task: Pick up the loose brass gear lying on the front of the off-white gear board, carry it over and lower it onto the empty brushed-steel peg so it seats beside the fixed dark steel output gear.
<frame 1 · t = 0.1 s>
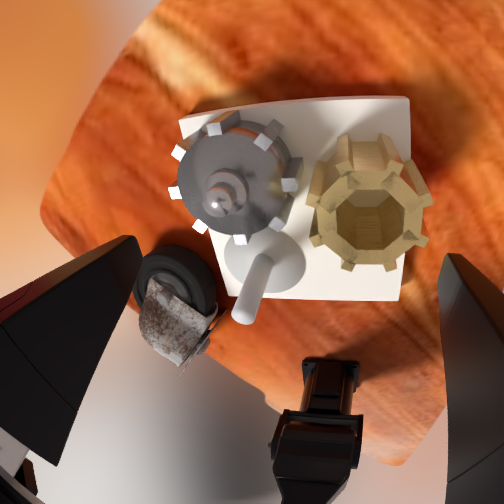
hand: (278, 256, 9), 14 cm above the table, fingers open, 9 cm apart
output gear: (250, 159, 22), resting on gear board
gear board: (305, 206, 23), on the table
caster wheel: (185, 286, 33), on the table
brass gear: (366, 182, 20), point 1 cm above the table, touching gear board
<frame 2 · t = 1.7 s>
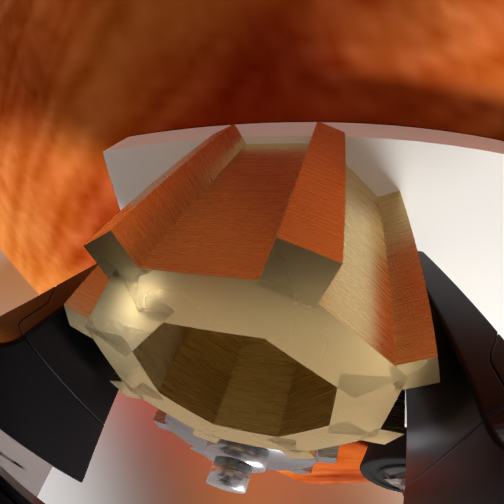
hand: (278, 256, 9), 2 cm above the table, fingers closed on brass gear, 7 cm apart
output gear: (267, 356, 15), resting on gear board
gear board: (357, 315, 12), on the table
caster wheel: (436, 437, 18), on the table
brass gear: (284, 238, 9), point 1 cm above the table, touching gear board, gripper
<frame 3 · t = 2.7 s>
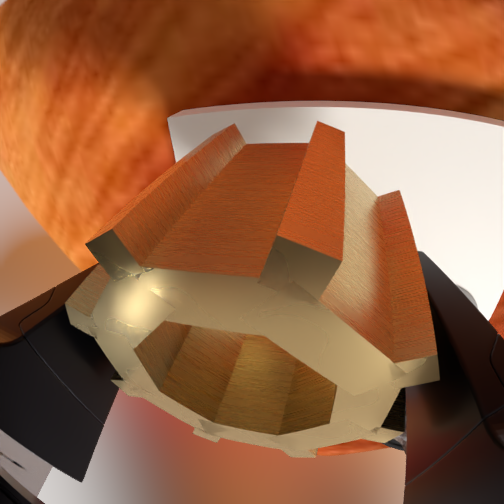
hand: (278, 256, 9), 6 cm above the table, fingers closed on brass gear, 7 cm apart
gear board: (360, 255, 15), on the table
caster wheel: (432, 395, 22), on the table
brass gear: (284, 237, 9), point 6 cm above the table, touching gripper
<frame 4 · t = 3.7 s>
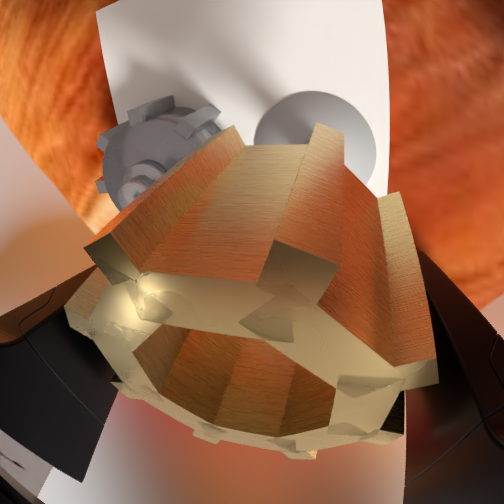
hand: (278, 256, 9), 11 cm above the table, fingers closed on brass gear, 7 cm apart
output gear: (190, 150, 20), resting on gear board
gear board: (242, 90, 17), on the table
brass gear: (284, 239, 9), point 11 cm above the table, touching gripper
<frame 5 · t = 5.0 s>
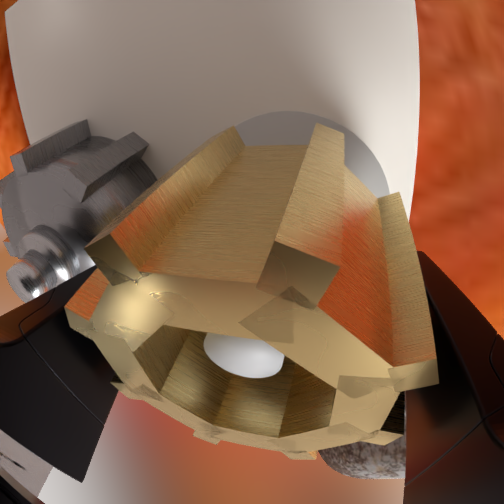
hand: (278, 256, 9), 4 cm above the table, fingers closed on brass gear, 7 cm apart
output gear: (124, 191, 14), resting on gear board
gear board: (184, 106, 11), on the table
caster wheel: (360, 367, 18), on the table
brass gear: (284, 239, 9), point 3 cm above the table, touching gripper
when the fingers open (4 cm above the table, at t = 5.7 s): brass gear drops 2 cm, resting on gear board.
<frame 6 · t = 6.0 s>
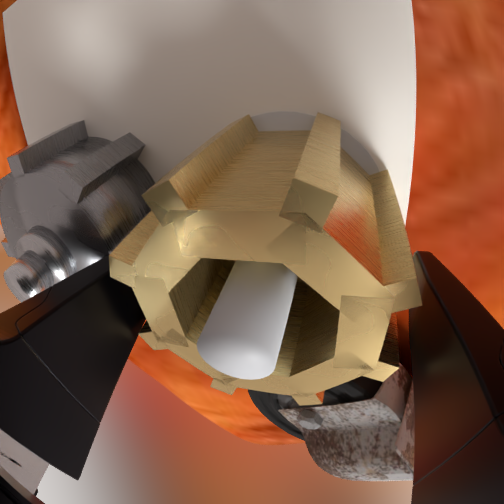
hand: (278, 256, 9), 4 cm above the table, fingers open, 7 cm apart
output gear: (121, 192, 14), resting on gear board
gear board: (180, 107, 11), on the table
caster wheel: (352, 370, 18), on the table
brass gear: (290, 212, 11), point 2 cm above the table, touching gear board
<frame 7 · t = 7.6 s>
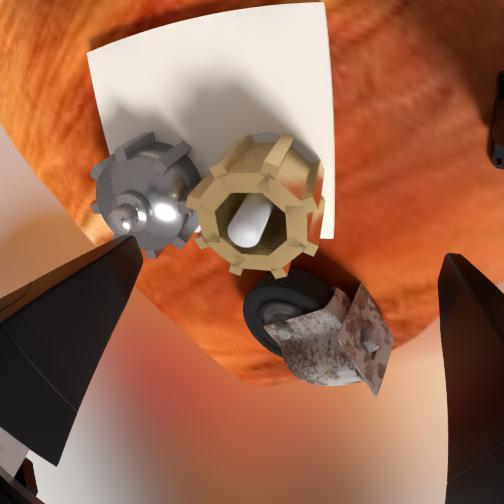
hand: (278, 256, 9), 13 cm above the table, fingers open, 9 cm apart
output gear: (170, 176, 23), resting on gear board
gear board: (211, 126, 20), on the table
caster wheel: (316, 305, 28), on the table
brass gear: (271, 184, 20), point 2 cm above the table, touching gear board
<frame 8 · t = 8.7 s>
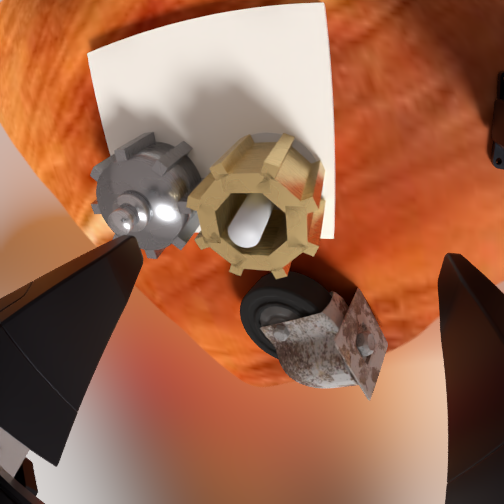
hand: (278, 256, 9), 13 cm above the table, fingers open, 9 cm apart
output gear: (170, 176, 23), resting on gear board
gear board: (211, 127, 20), on the table
caster wheel: (312, 308, 28), on the table
brass gear: (271, 184, 20), point 2 cm above the table, touching gear board
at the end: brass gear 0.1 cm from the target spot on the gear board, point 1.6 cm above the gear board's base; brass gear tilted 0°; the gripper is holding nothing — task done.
